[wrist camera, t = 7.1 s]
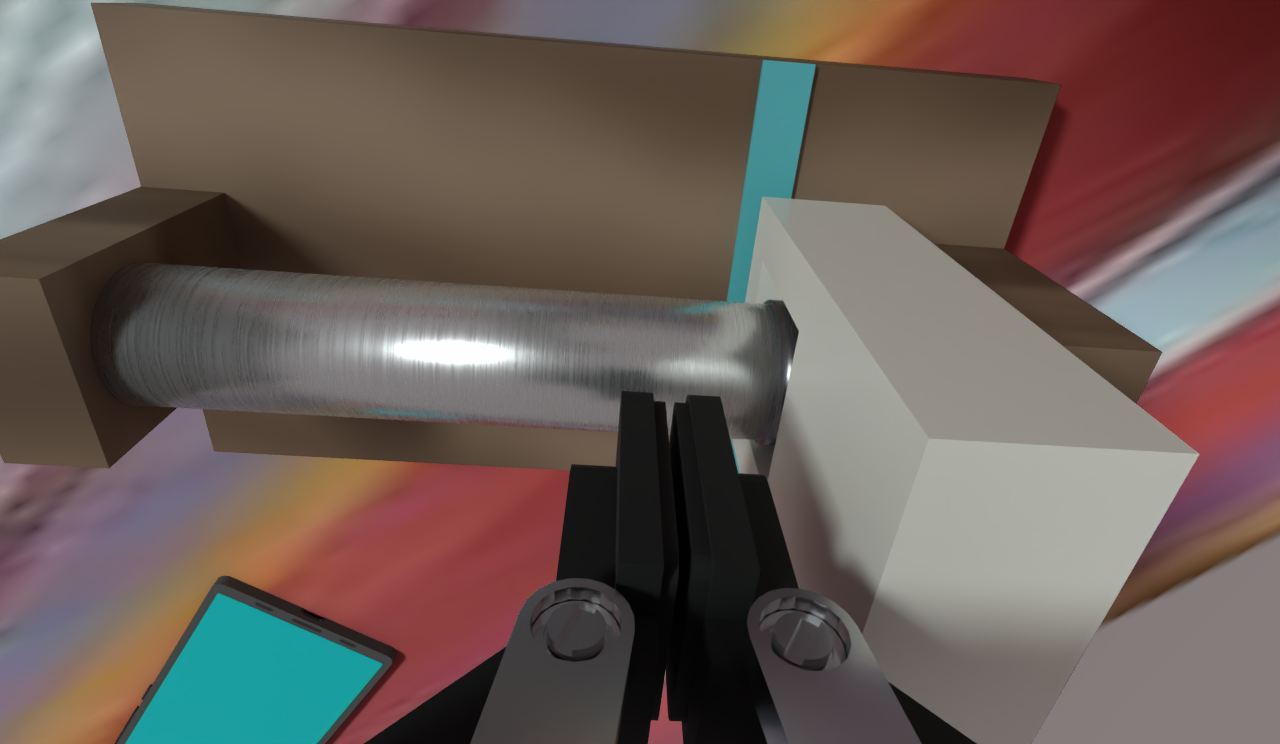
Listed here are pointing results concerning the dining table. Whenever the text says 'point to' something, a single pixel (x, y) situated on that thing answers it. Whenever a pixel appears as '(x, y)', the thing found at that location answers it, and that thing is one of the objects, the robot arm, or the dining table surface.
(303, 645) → the smartphone
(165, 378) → the pipe rig
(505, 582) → the dining table surface
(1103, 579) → the collar
